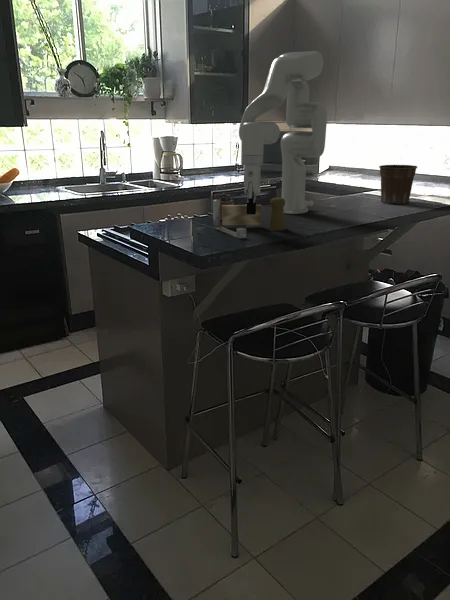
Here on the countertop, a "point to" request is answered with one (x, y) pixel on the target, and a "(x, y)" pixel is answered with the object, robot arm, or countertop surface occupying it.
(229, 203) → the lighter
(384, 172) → the plant pot
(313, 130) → the robot arm
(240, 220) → the door
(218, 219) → the grey l-shaped bracket
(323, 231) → the countertop surface
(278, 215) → the cork
